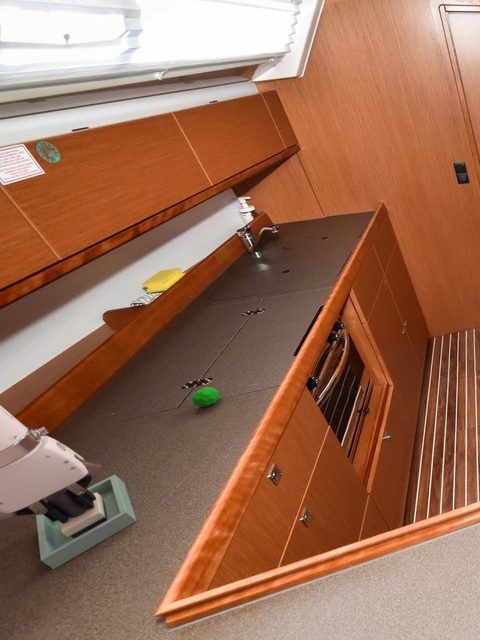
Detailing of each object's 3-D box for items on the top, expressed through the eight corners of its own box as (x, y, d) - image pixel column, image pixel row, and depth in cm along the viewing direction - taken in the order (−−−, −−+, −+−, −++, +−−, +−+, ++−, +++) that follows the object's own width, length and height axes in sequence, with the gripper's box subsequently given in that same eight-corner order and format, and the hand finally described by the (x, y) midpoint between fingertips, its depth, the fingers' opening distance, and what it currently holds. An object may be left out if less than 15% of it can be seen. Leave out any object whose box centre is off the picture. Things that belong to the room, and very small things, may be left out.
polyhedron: (209, 396, 111) (199, 384, 109) (228, 395, 111) (218, 383, 109) (193, 411, 107) (182, 398, 104) (212, 410, 107) (201, 397, 104)
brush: (70, 518, 82) (36, 493, 77) (105, 499, 85) (75, 474, 80) (72, 540, 78) (36, 515, 74) (109, 520, 81) (77, 494, 77)
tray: (47, 523, 82) (35, 514, 80) (124, 482, 89) (114, 474, 88) (53, 569, 74) (40, 560, 73) (136, 520, 82) (126, 512, 80)
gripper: (71, 411, 78) (134, 470, 87) (-81, 476, 67) (10, 535, 76) (75, 429, 74) (141, 489, 84) (-86, 501, 63) (11, 560, 72)
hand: (77, 511), depth 80 cm, fingers closed on brush, 2 cm apart
